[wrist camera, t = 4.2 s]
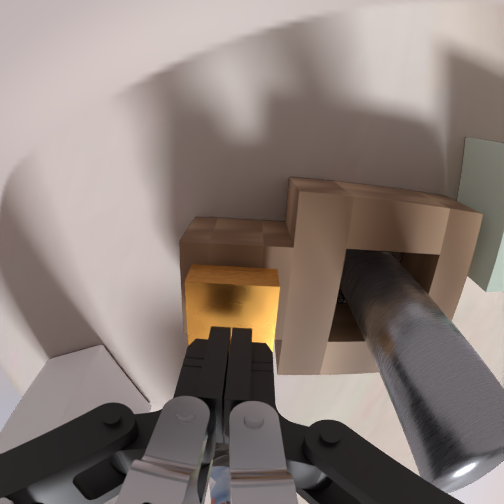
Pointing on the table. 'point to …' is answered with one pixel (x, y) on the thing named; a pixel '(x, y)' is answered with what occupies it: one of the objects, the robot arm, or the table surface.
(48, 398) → the milk carton
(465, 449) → the peg
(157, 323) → the table surface
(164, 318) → the table surface
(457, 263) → the socket block
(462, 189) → the rack
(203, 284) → the orange square-headed peg
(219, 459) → the beverage can
